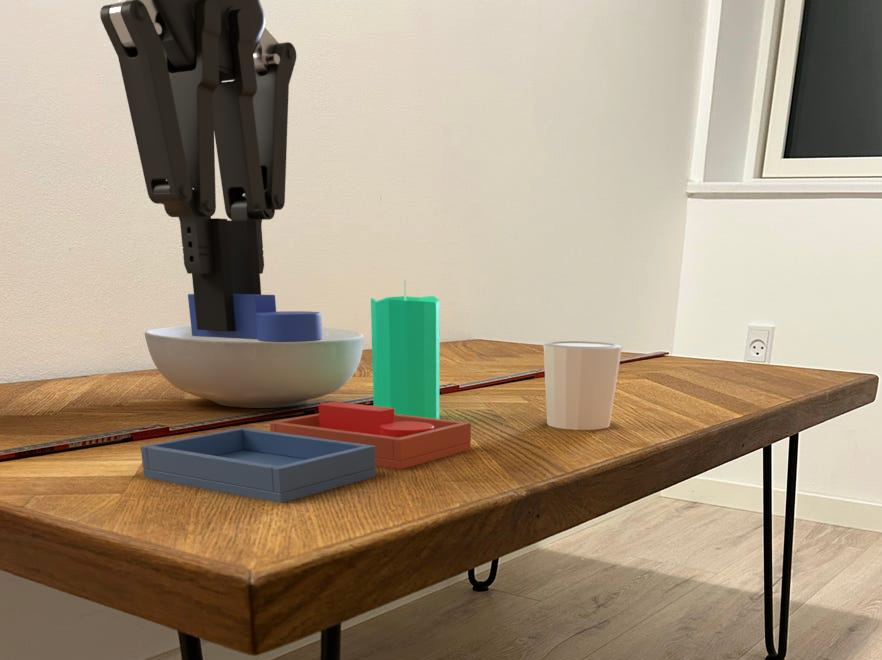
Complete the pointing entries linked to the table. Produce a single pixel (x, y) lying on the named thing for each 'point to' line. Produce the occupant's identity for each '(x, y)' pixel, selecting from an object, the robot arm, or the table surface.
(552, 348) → the white cup
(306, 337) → the blue rounded step block
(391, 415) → the red rounded step block
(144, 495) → the table surface
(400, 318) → the candle
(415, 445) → the red tray
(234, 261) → the robot arm
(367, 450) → the blue tray
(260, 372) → the serving bowl
